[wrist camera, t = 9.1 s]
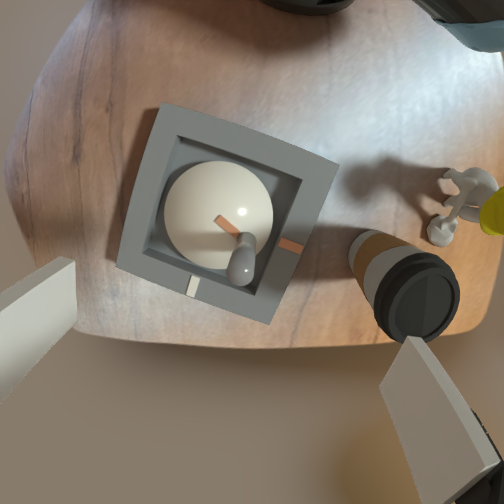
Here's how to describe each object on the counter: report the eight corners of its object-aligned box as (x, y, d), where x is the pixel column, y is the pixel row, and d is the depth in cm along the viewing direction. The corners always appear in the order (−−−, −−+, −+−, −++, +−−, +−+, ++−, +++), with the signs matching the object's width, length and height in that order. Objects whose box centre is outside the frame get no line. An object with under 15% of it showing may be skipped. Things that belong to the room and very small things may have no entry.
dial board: (170, 106, 31) (161, 101, 27) (332, 164, 32) (339, 164, 29) (126, 258, 36) (114, 267, 33) (268, 312, 38) (269, 325, 35)
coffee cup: (341, 289, 37) (379, 360, 22) (336, 225, 34) (383, 270, 20) (399, 278, 36) (457, 338, 22) (398, 217, 34) (469, 253, 19)
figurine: (398, 198, 33) (472, 224, 18) (442, 153, 31) (522, 158, 16) (436, 253, 35) (504, 300, 20) (475, 210, 32) (548, 237, 18)
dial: (149, 220, 34) (105, 245, 23) (212, 139, 31) (188, 129, 20) (226, 283, 36) (211, 333, 25) (294, 209, 33) (309, 232, 22)
